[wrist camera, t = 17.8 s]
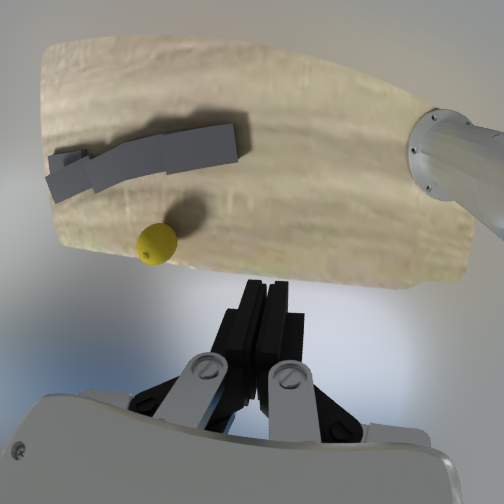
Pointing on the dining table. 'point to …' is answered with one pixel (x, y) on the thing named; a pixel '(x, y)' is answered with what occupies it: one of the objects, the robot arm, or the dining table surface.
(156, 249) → the lemon
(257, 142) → the dining table surface
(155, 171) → the domino
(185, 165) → the domino
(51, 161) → the domino
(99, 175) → the domino
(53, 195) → the domino
